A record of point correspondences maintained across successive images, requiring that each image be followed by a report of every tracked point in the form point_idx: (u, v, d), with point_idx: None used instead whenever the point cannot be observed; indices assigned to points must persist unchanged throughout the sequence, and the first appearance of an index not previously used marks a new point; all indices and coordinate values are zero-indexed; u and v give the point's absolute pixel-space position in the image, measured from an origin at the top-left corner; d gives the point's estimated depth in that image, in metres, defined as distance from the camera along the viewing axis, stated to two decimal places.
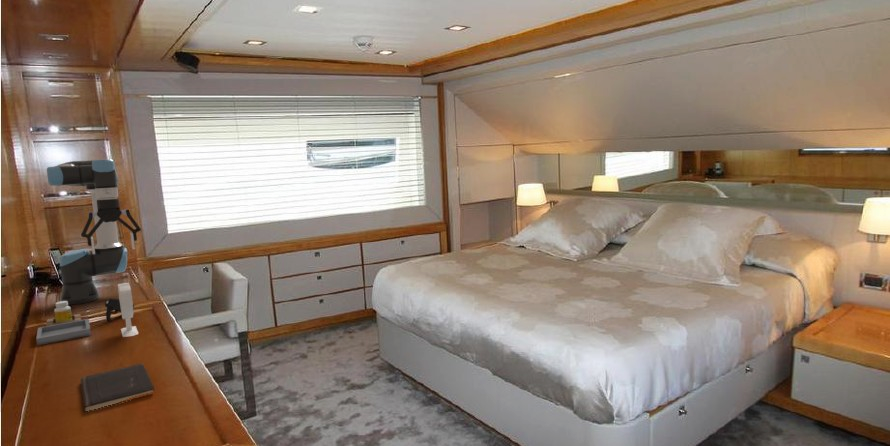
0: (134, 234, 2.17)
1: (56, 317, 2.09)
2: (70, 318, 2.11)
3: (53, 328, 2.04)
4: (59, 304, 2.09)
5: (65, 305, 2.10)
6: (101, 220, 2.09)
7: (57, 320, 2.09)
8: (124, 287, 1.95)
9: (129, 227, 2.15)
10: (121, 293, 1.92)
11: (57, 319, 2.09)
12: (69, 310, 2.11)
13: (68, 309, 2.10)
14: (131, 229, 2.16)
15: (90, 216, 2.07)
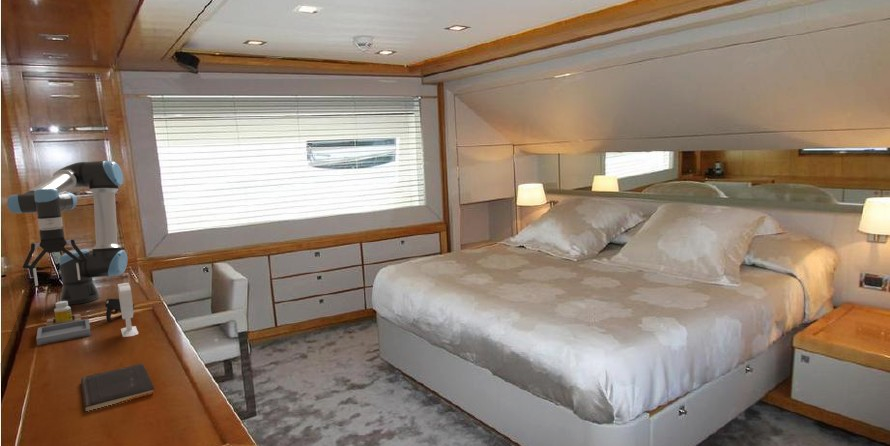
0: (80, 264, 2.12)
1: (56, 317, 2.09)
2: (70, 318, 2.11)
3: (53, 328, 2.04)
4: (59, 304, 2.09)
5: (65, 305, 2.10)
6: (44, 251, 2.04)
7: (57, 320, 2.09)
8: (124, 287, 1.95)
9: (74, 257, 2.10)
10: (121, 293, 1.92)
11: (57, 319, 2.09)
12: (69, 310, 2.11)
13: (68, 309, 2.10)
14: (76, 259, 2.11)
15: (32, 247, 2.03)
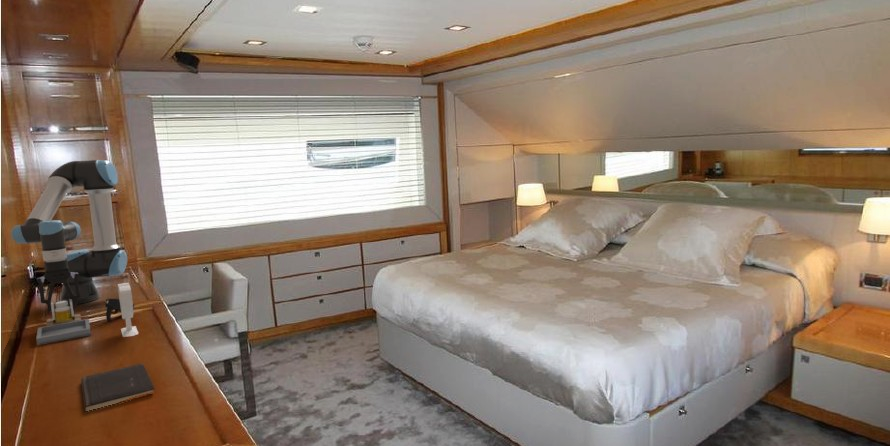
0: (73, 301, 2.12)
1: (56, 317, 2.09)
2: (70, 318, 2.11)
3: (53, 328, 2.04)
4: (59, 304, 2.09)
5: (65, 305, 2.10)
6: (52, 283, 2.07)
7: (57, 320, 2.09)
8: (124, 287, 1.95)
9: (70, 293, 2.11)
10: (121, 293, 1.92)
11: (57, 319, 2.09)
12: (69, 310, 2.11)
13: (68, 309, 2.10)
14: (71, 295, 2.11)
15: (39, 282, 2.05)
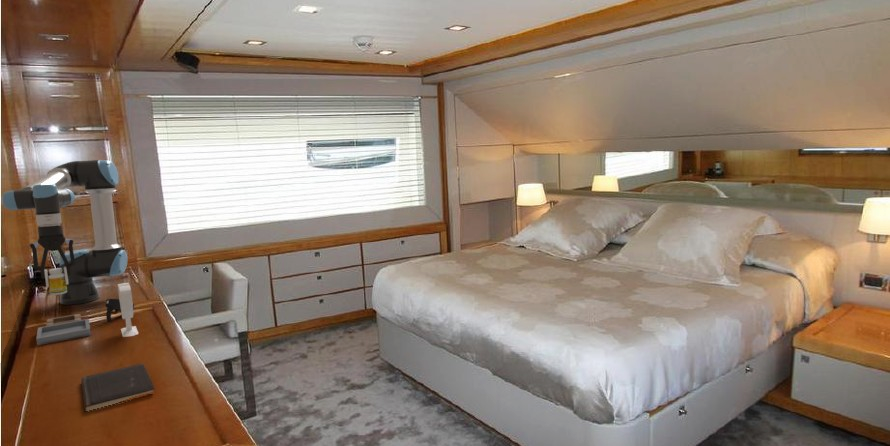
0: (68, 268, 2.05)
1: (50, 284, 2.02)
2: (64, 286, 2.05)
3: (53, 328, 2.04)
4: (53, 271, 2.02)
5: (59, 272, 2.03)
6: (45, 249, 2.00)
7: (51, 287, 2.02)
8: (124, 287, 1.95)
9: (65, 259, 2.04)
10: (121, 293, 1.92)
11: (51, 286, 2.02)
12: (63, 277, 2.04)
13: (62, 276, 2.04)
14: (66, 262, 2.04)
15: (32, 247, 1.98)
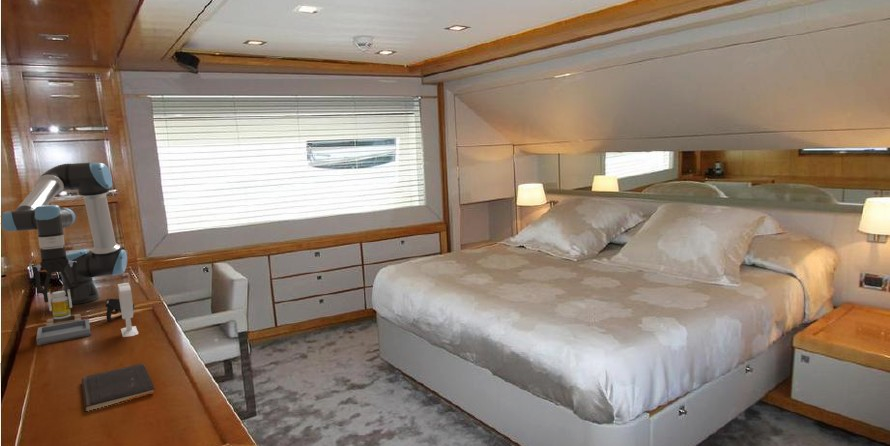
0: (71, 291, 2.00)
1: (53, 308, 1.96)
2: (68, 309, 1.99)
3: (53, 328, 2.04)
4: (56, 294, 1.96)
5: (62, 295, 1.98)
6: (48, 272, 1.94)
7: (54, 311, 1.96)
8: (124, 287, 1.95)
9: (68, 282, 1.99)
10: (121, 293, 1.92)
11: (54, 310, 1.96)
12: (67, 300, 1.99)
13: (66, 299, 1.98)
14: (69, 285, 1.99)
15: (35, 270, 1.93)
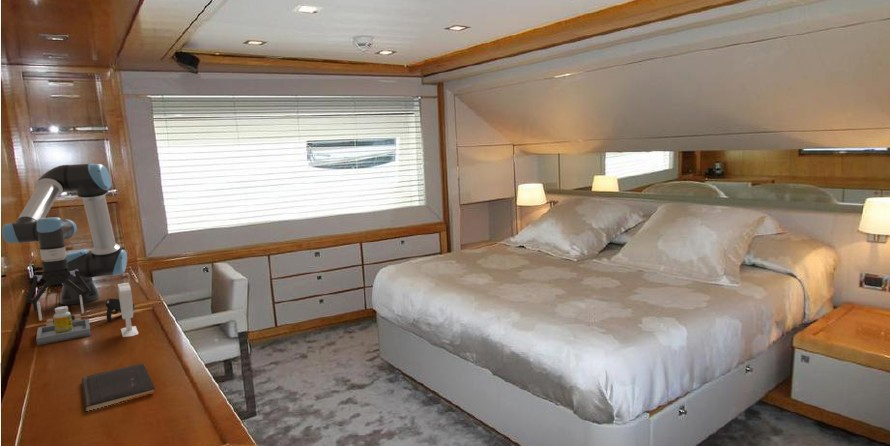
0: (83, 297, 2.02)
1: (55, 323, 1.97)
2: (70, 324, 2.00)
3: (53, 328, 2.04)
4: (58, 310, 1.97)
5: (65, 311, 1.99)
6: (47, 283, 1.95)
7: (56, 327, 1.97)
8: (124, 287, 1.95)
9: (78, 289, 2.01)
10: (121, 293, 1.92)
11: (56, 326, 1.97)
12: (69, 316, 2.00)
13: (68, 315, 1.99)
14: (80, 291, 2.01)
15: (35, 280, 1.93)
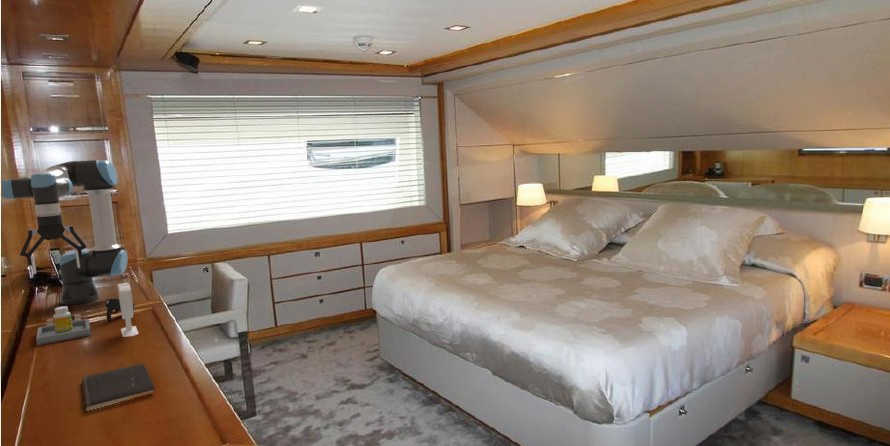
0: (79, 252, 2.06)
1: (55, 324, 1.97)
2: (70, 324, 2.00)
3: (53, 328, 2.04)
4: (58, 310, 1.97)
5: (65, 311, 1.99)
6: (42, 238, 1.98)
7: (56, 327, 1.97)
8: (124, 287, 1.95)
9: (73, 244, 2.04)
10: (121, 293, 1.92)
11: (56, 326, 1.97)
12: (69, 316, 2.00)
13: (68, 315, 1.99)
14: (75, 246, 2.04)
15: (29, 234, 1.96)
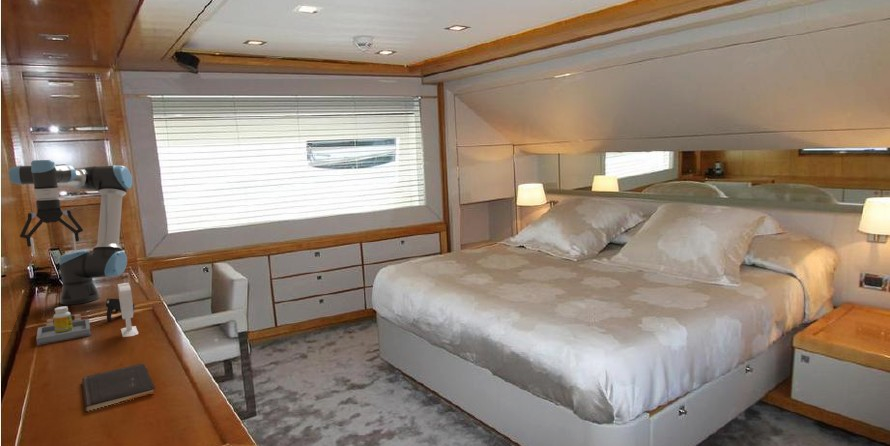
0: (76, 235, 2.17)
1: (55, 324, 1.97)
2: (70, 324, 2.00)
3: (53, 328, 2.04)
4: (58, 310, 1.97)
5: (65, 311, 1.99)
6: (41, 221, 2.09)
7: (56, 327, 1.97)
8: (124, 287, 1.95)
9: (70, 228, 2.15)
10: (121, 293, 1.92)
11: (56, 326, 1.97)
12: (69, 316, 2.00)
13: (68, 315, 1.99)
14: (72, 230, 2.15)
15: (29, 217, 2.07)
